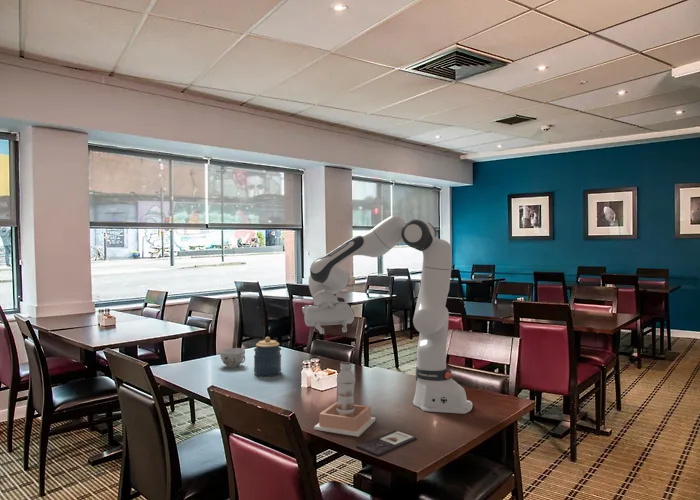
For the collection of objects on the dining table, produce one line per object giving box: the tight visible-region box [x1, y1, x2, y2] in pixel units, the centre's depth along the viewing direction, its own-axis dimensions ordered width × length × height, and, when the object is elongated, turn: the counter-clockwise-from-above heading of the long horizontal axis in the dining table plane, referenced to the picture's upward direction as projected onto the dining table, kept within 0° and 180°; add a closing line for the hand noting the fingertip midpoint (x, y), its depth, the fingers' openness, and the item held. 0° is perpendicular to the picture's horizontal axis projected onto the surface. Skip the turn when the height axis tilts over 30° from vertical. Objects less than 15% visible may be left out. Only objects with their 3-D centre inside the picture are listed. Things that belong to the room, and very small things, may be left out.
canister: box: [253, 336, 282, 378], centre depth 235 cm, size 13×13×18 cm
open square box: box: [313, 401, 377, 438], centre depth 168 cm, size 16×16×5 cm
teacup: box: [219, 347, 246, 368], centre depth 248 cm, size 15×12×8 cm
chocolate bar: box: [356, 430, 418, 457], centre depth 152 cm, size 9×1×18 cm
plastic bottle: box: [335, 361, 356, 417], centre depth 168 cm, size 6×7×20 cm
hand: (333, 332), depth 192 cm, fingers open, 8 cm apart
